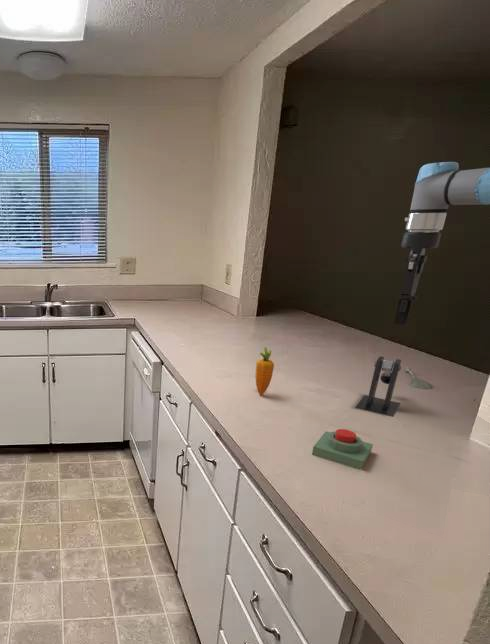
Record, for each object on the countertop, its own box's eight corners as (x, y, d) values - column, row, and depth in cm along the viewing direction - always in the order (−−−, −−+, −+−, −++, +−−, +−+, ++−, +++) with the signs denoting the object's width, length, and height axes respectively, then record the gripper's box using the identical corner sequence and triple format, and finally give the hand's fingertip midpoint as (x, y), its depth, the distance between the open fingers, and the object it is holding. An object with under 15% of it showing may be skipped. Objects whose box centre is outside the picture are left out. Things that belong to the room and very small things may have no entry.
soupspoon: (407, 393, 136) (432, 397, 133) (410, 383, 134) (436, 387, 132) (396, 370, 154) (418, 373, 151) (399, 361, 152) (421, 364, 150)
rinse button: (337, 434, 102) (338, 427, 101) (356, 439, 99) (358, 432, 99) (332, 440, 99) (333, 433, 98) (352, 445, 96) (353, 438, 96)
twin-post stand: (363, 399, 130) (374, 351, 125) (399, 407, 124) (412, 357, 119) (354, 411, 122) (365, 361, 117) (392, 420, 116) (405, 368, 111)
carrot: (268, 399, 131) (275, 351, 125) (250, 396, 133) (257, 349, 128) (270, 393, 135) (277, 347, 129) (253, 391, 137) (260, 345, 132)
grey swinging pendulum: (379, 384, 129) (382, 373, 129) (393, 386, 126) (397, 375, 127) (377, 368, 118) (381, 356, 119) (393, 371, 116) (397, 359, 117)
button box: (323, 439, 107) (326, 424, 106) (370, 452, 101) (374, 437, 99) (311, 454, 100) (314, 439, 99) (361, 470, 94) (365, 453, 92)
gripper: (409, 230, 115) (388, 317, 124) (400, 232, 107) (378, 325, 115) (444, 230, 111) (420, 321, 119) (438, 232, 102) (413, 330, 110)
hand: (400, 323), depth 117 cm, fingers closed
